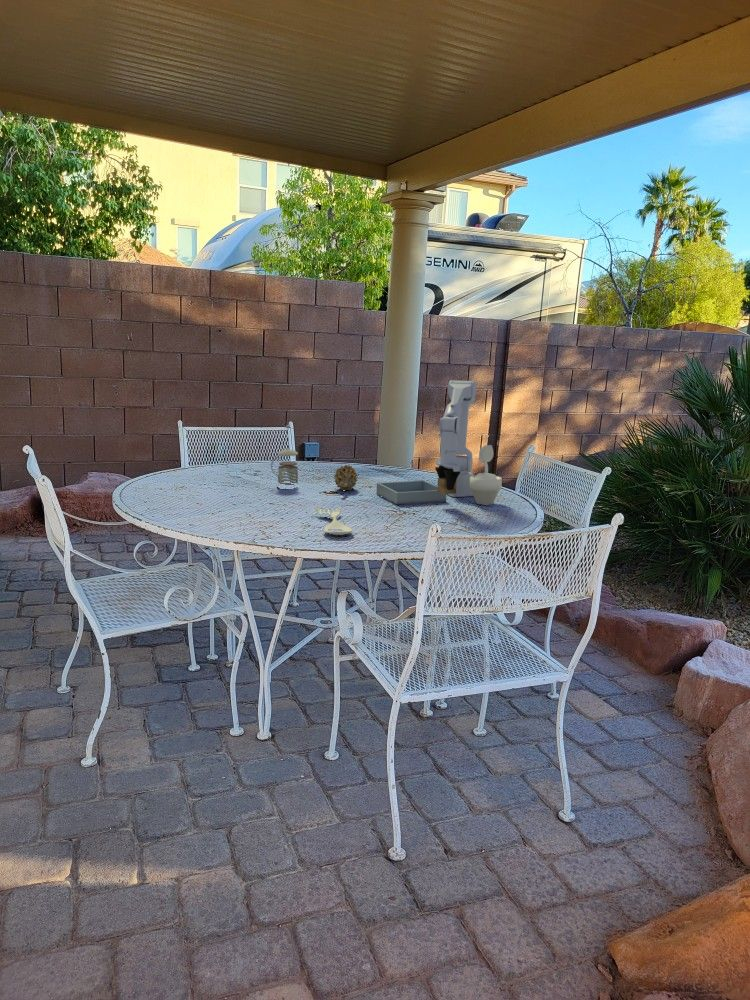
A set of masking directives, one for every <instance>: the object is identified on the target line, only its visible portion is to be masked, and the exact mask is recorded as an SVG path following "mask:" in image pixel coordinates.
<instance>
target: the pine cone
mask: <svg viewBox="0 0 750 1000" xmlns="http://www.w3.org/2000/svg"><path fill="white" fill-rule="evenodd" d="M333 474H334V473H333ZM333 476H334V477H333V479H334V481H333V482H334V483H335V485H336V487H337V488H340V490H341V491H342V490H346V491H347V490H348V489H349V491H351V490H353V489H354V488H355V487H356V485H357V482H358V477H357V476H358V473H357V470H356V468H355V467H353V466H352V465H350V464H344V465H341V466H339V468H338V467H336V470H335V474H334V475H333Z"/></svg>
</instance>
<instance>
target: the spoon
mask: <svg viewBox="0 0 750 1000" xmlns="http://www.w3.org/2000/svg"><path fill="white" fill-rule="evenodd" d="M334 509H335V510H334ZM315 511H316V512H317V513H318V515H320V514H322V513H329V514H330V513H331V514H330V515H328V516H327V517H329V518H330V520H332V521H331V522H330V523H329V524H327V525H326V526H325V527H324V528H323V532H324V531H325V533H326V534H328V533H329V534H328V535H331V534H334V535H333V536H338V535H340V536H345V534H346V535H349V534H351V533H353V532H354V529H352V527H350V526H347V525H346V524H344V523H342V522H341V521H339V520H338V519H339V518H340V517H339V516H340V515H341V512H342V507H341V506H338V508H337V507H336V508H332V510H330V509H329V508H327V510H325V508H322V509H321V508H320V507H319V508H318V506H315ZM338 515H339V516H338ZM329 518H328V519H329ZM328 529H342V530H344V531H337V532H331V531H328Z"/></svg>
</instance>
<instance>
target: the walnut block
mask: <svg viewBox="0 0 750 1000" xmlns="http://www.w3.org/2000/svg"><path fill="white" fill-rule="evenodd" d="M456 483H457V480H456ZM456 483H455V486H454V489H453V490H448V489H447V480H446V478H439V477H437V485H436V486H437V492H439V493H442V494H446V495H447V494H456Z"/></svg>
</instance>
